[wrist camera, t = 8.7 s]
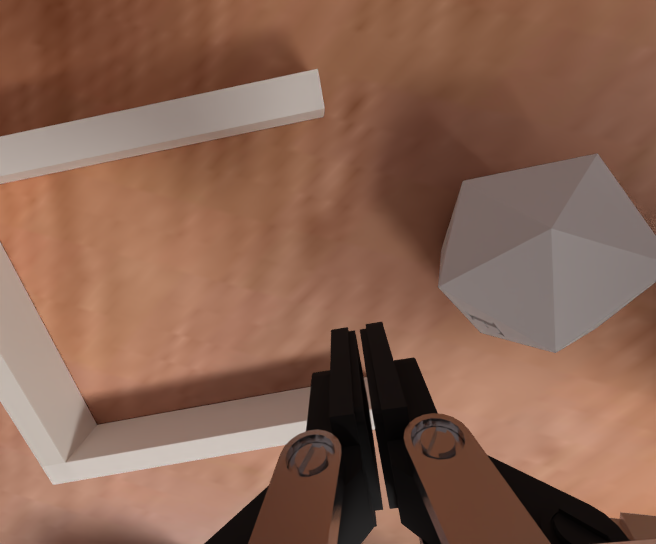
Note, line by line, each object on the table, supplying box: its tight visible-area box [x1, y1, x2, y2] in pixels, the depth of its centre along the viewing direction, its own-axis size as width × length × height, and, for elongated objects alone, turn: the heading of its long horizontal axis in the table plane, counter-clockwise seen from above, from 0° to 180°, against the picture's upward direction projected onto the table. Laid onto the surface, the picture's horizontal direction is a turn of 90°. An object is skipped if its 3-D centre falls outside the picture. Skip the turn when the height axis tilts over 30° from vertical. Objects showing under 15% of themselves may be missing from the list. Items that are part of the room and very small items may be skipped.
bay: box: [0, 69, 375, 485], centre depth 18 cm, size 20×19×3 cm
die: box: [438, 153, 656, 353], centre depth 16 cm, size 8×9×10 cm
